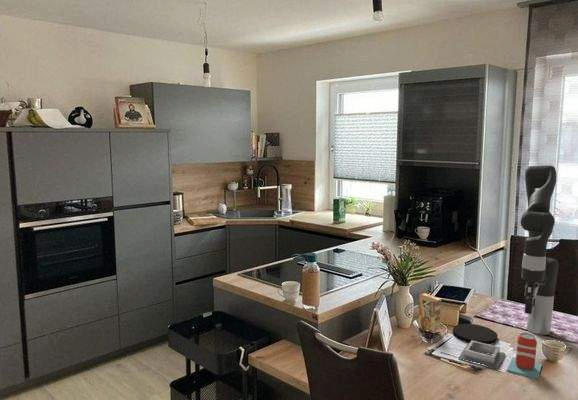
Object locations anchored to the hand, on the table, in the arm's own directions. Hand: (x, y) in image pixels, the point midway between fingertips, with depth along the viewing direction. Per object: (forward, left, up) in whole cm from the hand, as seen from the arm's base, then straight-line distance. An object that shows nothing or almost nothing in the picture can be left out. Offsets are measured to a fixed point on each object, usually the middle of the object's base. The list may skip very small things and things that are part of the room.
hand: (529, 309), depth 173 cm
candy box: (-12, -40, -23) cm, 47 cm away
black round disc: (-18, -22, -23) cm, 36 cm away
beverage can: (+1, 0, -22) cm, 22 cm away
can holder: (+1, -15, -22) cm, 27 cm away
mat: (+1, 0, -22) cm, 22 cm away
